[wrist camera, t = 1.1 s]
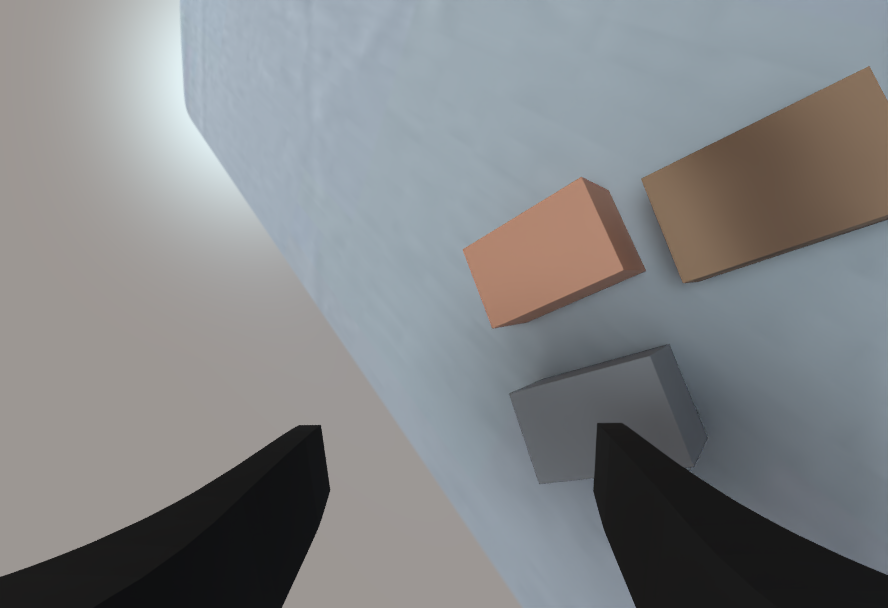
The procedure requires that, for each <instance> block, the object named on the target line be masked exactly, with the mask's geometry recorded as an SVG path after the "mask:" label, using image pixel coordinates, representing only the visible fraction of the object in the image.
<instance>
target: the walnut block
mask: <svg viewBox="0 0 888 608" xmlns="http://www.w3.org/2000/svg"><path fill="white" fill-rule="evenodd" d="M641 180H642V182H643V185H644V187H645V190H646V192H647V195H648V197H649V200H650V202H651V205H652V207H653V210H654V212H655V215H656V217H657V220H658V222H659V225H660V227H661V230H662V232H663V235H664V237H665V240H666V242H667V244H668V247H669V249H670V252H671V254H672V257H673V259H674V262H675V264H676V267H677V269H678V272H679V274H680V277H681V279H682V282H683V283H690V282H699V281H702V280H705V279H708V278H711V277H714V276H717V275H720V274H723V273H726V272H729V271H732V270H735V269H739V268H742V267H745V266H748V265H751V264H754V263H757V262H760V261H763V260H766V259H769V258H772V257H775V256H778V255H781V254H784V253H787V252H790V251H793V250H796V249H799V248H802V247H805V246H808V245H812V244H815V243H818V242H821V241H824V240H827V239H830V238H833V237H836V236H839V235H842V234H845V233H848V232H851V231H854V230H857V229H860V228H863V227H866V226H869V225H872V224H875V223H878V222H881V221H885V220H888V101H887V99H886V97H885V95H884V93H883V91H882V89H881V88H880V86H879V84H878V82H877V80H876V78H875V76H874V74H873V72H872V70H871V68H870V66H868V67H866V68H864V69H862V70H860V71H858V72H856V73H854V74H852V75H850V76H848V77H846V78H844V79H842V80H840V81H838V82H836V83H834V84H832V85H830V86H828V87H826V88H824V89H822V90H820V91H818V92H816V93H814V94H812V95H810V96H808V97H806V98H804V99H802V100H800V101H798V102H795V103H793V104H791V105H789V106H787V107H785V108H783V109H781V110H779V111H777V112H775V113H773V114H771V115H769V116H767V117H765V118H763V119H761V120H759V121H757V122H755V123H753V124H751V125H749V126H747V127H745V128H743V129H741V130H739V131H737V132H735V133H733V134H731V135H729V136H727V137H725V138H723V139H721V140H719V141H717V142H714V143H712V144H710V145H708V146H706V147H704V148H702V149H700V150H698V151H696V152H694V153H692V154H690V155H688V156H686V157H684V158H682V159H680V160H678V161H676V162H674V163H672V164H670V165H668V166H666V167H664V168H662V169H660V170H658V171H656V172H654V173H652V174H650V175H648V176H646V177H644V178H642V179H641Z"/></svg>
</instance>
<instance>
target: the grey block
mask: <svg viewBox="0 0 888 608" xmlns="http://www.w3.org/2000/svg"><path fill="white" fill-rule="evenodd" d="M509 395H510V398H511V401H512V404H513V407H514V410H515V413H516V416H517V419H518V422H519V425H520V428H521V431H522V434H523V437H524V440H525V443H526V446H527V449H528V452H529V455H530V458H531V461H532V464H533V467H534V470H535V473H536V476H537V479H538V482H539V484H545V483H554V482H563V481H572V480H581V479H590V478H594V471H595V452H596V434H597V423H623V424H625V425H626V426H628V427H629V428H630V429H632V430H633V431H635V432H636V433H637V434H639V435H640V436H641V437H643V438H644V439H645V440H647V441H648V442H649V443H651V444H652V445H653V446H655V447H656V448H657V449H659V450H660V451H662V452H663V453H664V454H666V455H667V456H668V457H670V458H671V459H672V460H674V461H675V462H677V463H678V464H679V465H681V466H682V467H684V468H688V467H694V466H695V464H696V461H697V459H698V457H699V455H700V453H701V451H702V448H703V446H704V444H705V442H706V440H707V436H706V433H705V431H704V428H703V426H702V423H701V421H700V418H699V416H698V414H697V411H696V409H695V406H694V404H693V401H692V399H691V396H690V394H689V391H688V389H687V387H686V384H685V382H684V379H683V377H682V374H681V372H680V369H679V367H678V364H677V362H676V360H675V357H674V355H673V352H672V350H671V347H670V345H669V344H668V345H665V346H661V347H657V348H654V349H650V350H646V351H643V352H639V353H636V354H632V355H628V356H625V357H621V358H618V359H614V360H610V361H607V362H603V363H600V364H596V365H592V366H589V367H585V368H582V369H578V370H574V371H571V372H567V373H563V374H560V375H556V376H553V377H549V378H545V379H542V380H540V381H537V382H535V383H533V384H530V385H528V386H526V387H523V388H521V389H519V390H516V391H514V392H512V393H510V394H509Z"/></svg>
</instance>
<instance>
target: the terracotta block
mask: <svg viewBox="0 0 888 608" xmlns="http://www.w3.org/2000/svg"><path fill="white" fill-rule="evenodd" d="M463 252H464V255H465V257H466V260H467V262H468V265H469V268H470V270H471V273H472V276H473V278H474V281H475V284H476V286H477V289H478V292H479V294H480V297H481V300H482V302H483V305H484V307H485V310H486V313H487V315H488V318H489V321H490V323H491V326H492V329H493V328H498V327H504V326H509V325H515V324H520V323H526V322H529V321H531V320H533V319H536V318H538V317H540V316H543V315H545V314H547V313H550V312H552V311H554V310H557V309H559V308H561V307H564V306H566V305H568V304H571V303H573V302H575V301H578V300H580V299H582V298H584V297H587V296H589V295H591V294H594V293H596V292H598V291H601V290H603V289H605V288H608V287H610V286H612V285H615V284H617V283H619V282H622V281H624V280H626V279H628V278H631V277H633V276H635V275H638V274H640V273H642V272H645V271H646V270H645V268H644V265H643V263H642V261H641V259H640V257H639V255H638V252H637V250H636V248H635V246H634V244H633V242H632V240H631V237H630V235H629V233H628V231H627V229H626V227H625V225H624V222H623V220H622V218H621V216H620V214H619V212H618V210H617V207H616V205H615V203H614V201H613V199H612V197H611V195H610V192H609V190H607V189H605V188H603V187H601V186H599V185H597V184H595V183H593V182H591V181H589V180H587V179H585V178H583V177H580V178H579V179H577V180H575V181H574V182H572V183H571V184H569V185H567V186H566V187H564V188H562V189H561V190H559V191H557V192H556V193H554V194H553V195H551V196H549V197H548V198H546V199H544V200H543V201H541V202H539V203H538V204H536V205H535V206H533V207H531V208H530V209H528V210H526V211H525V212H523V213H522V214H520V215H518V216H517V217H515V218H513V219H512V220H510V221H508V222H507V223H505V224H504V225H502V226H500V227H499V228H497V229H495V230H494V231H492V232H490V233H489V234H487V235H486V236H484V237H482V238H481V239H479V240H477V241H476V242H474V243H473V244H471V245H469V246H468V247H466V248H464V249H463Z"/></svg>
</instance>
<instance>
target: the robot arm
mask: <svg viewBox="0 0 888 608" xmlns="http://www.w3.org/2000/svg"><path fill="white" fill-rule="evenodd" d="M593 491H594V495H595V499H596V503H597V506H598V510H599V514H600V517H601V521H602V524H603V528H604V531H605V533H606V536H607V538H608V541H609V543H610V546H611V548H612V551H613V553H614V556H615V558H616V560H617V563H618V565H619V568H620V570H621V572H622V575H623V577H624V580H625V582H626V584H627V587H628V589H629V592H630V594H631V597H632V599H633V601H634V604H635V606H636V608H888V575H886V574H884V573H881V572H879V571H876V570H874V569H871V568H869V567H867V566H864V565H862V564H860V563H857V562H855V561H853V560H850V559H848V558H846V557H844V556H841V555H839V554H837V553H835V552H833V551H831V550H828V549H826V548H824V547H822V546H820V545H818V544H816V543H814V542H812V541H809V540H807V539H805V538H803V537H801V536H799V535H797V534H795V533H793V532H791V531H789V530H787V529H785V528H783V527H781V526H779V525H777V524H775V523H774V522H772V521H770V520H768V519H766V518H765V517H763V516H761V515H759V514H757V513H756V512H754V511H752V510H750V509H748V508H747V507H745V506H743V505H741V504H740V503H738V502H736V501H735V500H733V499H731V498H730V497H728V496H726V495H725V494H723V493H722V492H720V491H718V490H717V489H715V488H714V487H712V486H711V485H709V484H708V483H706V482H704V481H703V480H701V479H700V478H698V477H697V476H695V475H694V474H692V473H691V472H690V471H688V470H687V469H685V468H684V467H682V466H681V465H679V464H678V463H677V462H675V461H674V460H672V459H671V458H670V457H668V456H667V455H666V454H664V453H663V452H662V451H660V450H659V449H657V448H656V447H655V446H653V445H652V444H651V443H649V442H648V441H647V440H645V439H644V438H643V437H641V436H640V435H639V434H637V433H636V432H635V431H633V430H632V429H630V428H629V427H628V426H626V425H625V424H623V423H597V434H596V452H595V471H594V490H593ZM329 492H330V485H329V478H328V471H327V465H326V457H325V451H324V443H323V436H322V429H321V425H299V426H297V427H295V428H293V429H291V430H290V431H288V432H287V433H285V434H284V435H282V436H280V437H279V438H277V439H276V440H275V441H273V442H271V443H270V444H268V445H267V446H265V447H264V448H263V449H261V450H260V451H258V452H257V453H255V454H254V455H252V456H251V457H249V458H248V459H246V460H245V461H243V462H242V463H240V464H239V465H237V466H236V467H234V468H233V469H231V470H229V471H228V472H226V473H225V474H223V475H221V476H220V477H218V478H216V479H215V480H214V481H212V482H210V483H208V484H207V485H205V486H204V487H202V488H200V489H199V490H197V491H195V492H194V493H192V494H190V495H189V496H187V497H185V498H183V499H181V500H179V501H178V502H176V503H174V504H172V505H170V506H168V507H166V508H164V509H162V510H160V511H159V512H157V513H155V514H153V515H151V516H149V517H147V518H145V519H143V520H141V521H138V522H136V523H134V524H132V525H130V526H128V527H125V528H123V529H121V530H119V531H116V532H114V533H112V534H110V535H108V536H105V537H103V538H101V539H99V540H97V541H94V542H92V543H90V544H87V545H85V546H83V547H80V548H77V549H75V550H72V551H70V552H68V553H65V554H62V555H60V556H57V557H55V558H52V559H50V560H47V561H44V562H41V563H39V564H36V565H34V566H31V567H28V568H25V569H22V570H19V571H16V572H14V573H11V574H8V575H5V576H2V577H0V608H282V606H283V604H284V602H285V599H286V597H287V595H288V593H289V591H290V589H291V586H292V584H293V582H294V580H295V578H296V576H297V574H298V571H299V569H300V567H301V565H302V563H303V561H304V559H305V556H306V554H307V552H308V550H309V548H310V545H311V543H312V541H313V539H314V537H315V534H316V532H317V530H318V527H319V525H320V521H321V519H322V515H323V512H324V509H325V506H326V502H327V499H328V496H329Z"/></svg>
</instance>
